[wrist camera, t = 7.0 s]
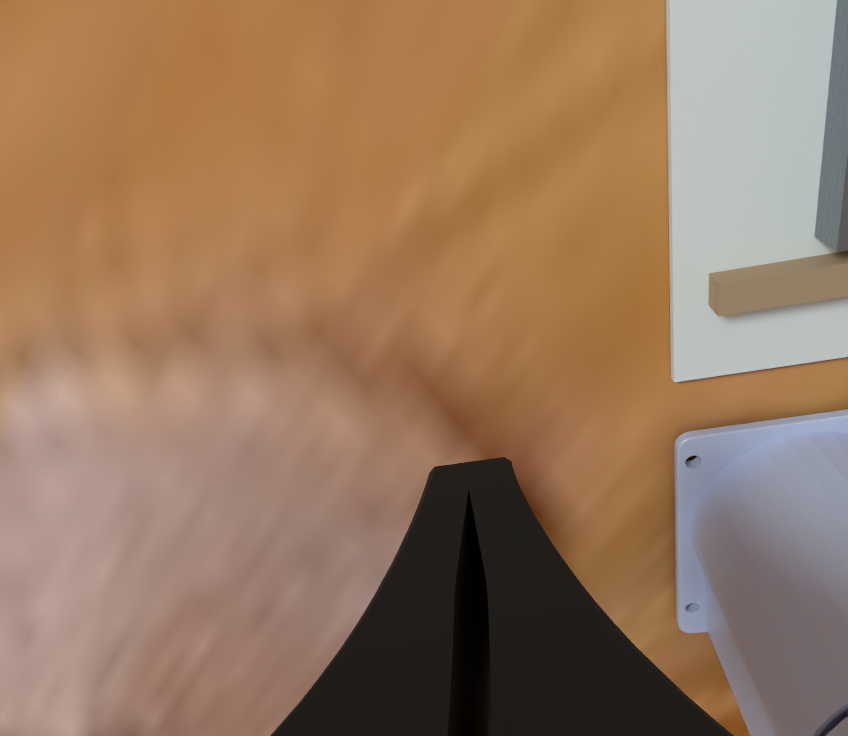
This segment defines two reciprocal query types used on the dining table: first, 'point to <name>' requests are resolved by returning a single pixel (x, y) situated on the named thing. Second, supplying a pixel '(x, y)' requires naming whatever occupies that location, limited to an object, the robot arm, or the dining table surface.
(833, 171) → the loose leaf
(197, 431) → the dining table surface
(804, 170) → the hinge jig
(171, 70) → the dining table surface
